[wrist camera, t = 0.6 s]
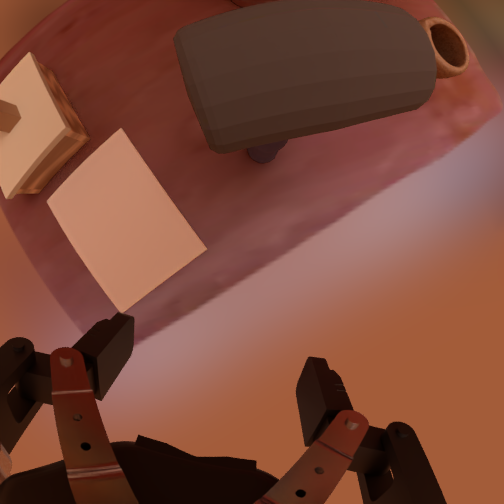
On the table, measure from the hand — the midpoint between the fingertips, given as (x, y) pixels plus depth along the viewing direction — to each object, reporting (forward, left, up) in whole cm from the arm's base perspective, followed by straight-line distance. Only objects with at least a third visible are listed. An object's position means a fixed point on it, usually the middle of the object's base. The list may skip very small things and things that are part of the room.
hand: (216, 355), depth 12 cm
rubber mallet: (-14, +5, -28) cm, 32 cm away
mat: (-5, -16, -28) cm, 33 cm away
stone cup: (-32, +30, -28) cm, 52 cm away
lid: (-22, -31, -21) cm, 43 cm away
